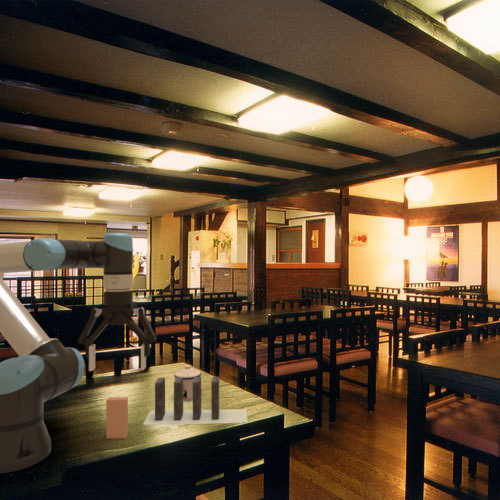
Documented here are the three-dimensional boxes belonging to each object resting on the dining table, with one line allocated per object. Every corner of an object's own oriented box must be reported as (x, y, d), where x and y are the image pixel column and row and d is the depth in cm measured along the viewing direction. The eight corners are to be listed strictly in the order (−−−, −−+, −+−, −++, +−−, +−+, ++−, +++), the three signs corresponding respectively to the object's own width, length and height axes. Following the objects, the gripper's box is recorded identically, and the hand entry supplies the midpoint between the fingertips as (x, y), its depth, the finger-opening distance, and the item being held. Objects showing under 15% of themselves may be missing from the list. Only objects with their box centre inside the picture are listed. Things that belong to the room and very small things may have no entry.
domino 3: (173, 420, 114) (173, 382, 114) (176, 413, 119) (176, 377, 119) (180, 420, 114) (180, 382, 114) (183, 413, 119) (183, 377, 119)
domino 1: (125, 441, 103) (125, 399, 103) (106, 442, 103) (106, 400, 103) (127, 438, 105) (127, 397, 105) (109, 438, 105) (109, 397, 105)
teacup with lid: (169, 399, 133) (168, 365, 133) (190, 392, 140) (190, 360, 140) (190, 409, 125) (190, 372, 125) (212, 401, 131) (212, 366, 132)
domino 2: (155, 420, 114) (154, 382, 114) (158, 413, 119) (158, 377, 119) (161, 420, 114) (161, 382, 114) (165, 413, 119) (165, 377, 119)
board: (142, 428, 111) (142, 424, 111) (150, 414, 121) (150, 410, 121) (247, 426, 112) (247, 422, 112) (246, 412, 122) (246, 409, 122)
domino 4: (192, 420, 114) (192, 382, 114) (194, 413, 119) (194, 377, 119) (199, 419, 114) (199, 382, 114) (201, 413, 119) (201, 377, 119)
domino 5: (211, 419, 114) (211, 382, 114) (212, 412, 119) (212, 376, 119) (218, 419, 114) (218, 381, 114) (219, 412, 119) (219, 376, 119)
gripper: (65, 291, 101) (64, 374, 100) (162, 291, 102) (162, 372, 102) (76, 289, 108) (75, 366, 108) (166, 288, 110) (166, 364, 109)
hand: (117, 369), depth 105 cm, fingers open, 13 cm apart
